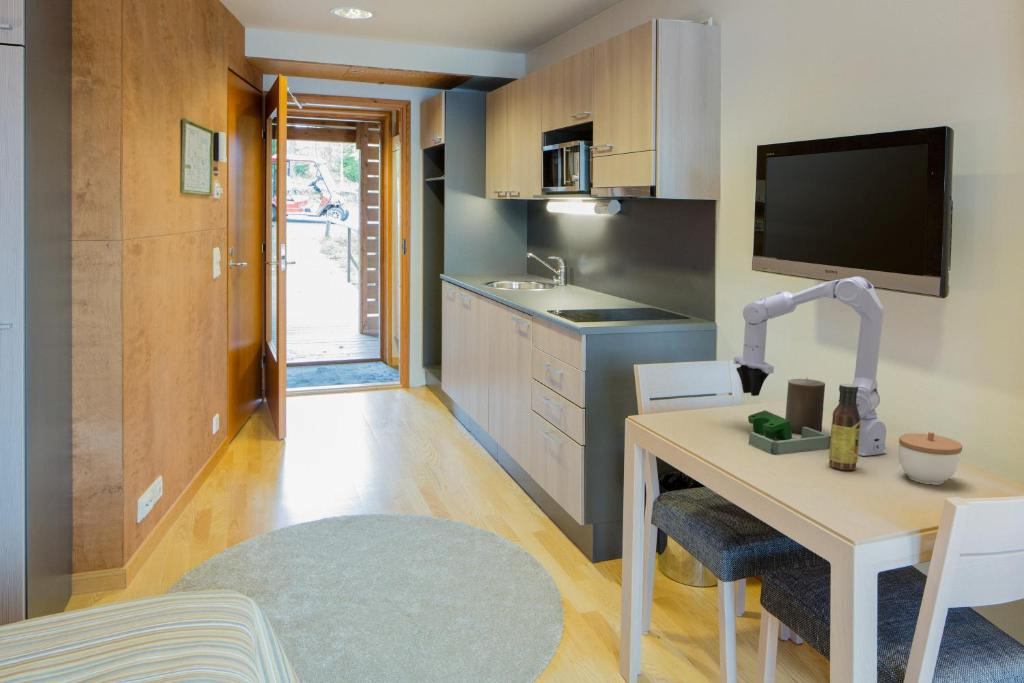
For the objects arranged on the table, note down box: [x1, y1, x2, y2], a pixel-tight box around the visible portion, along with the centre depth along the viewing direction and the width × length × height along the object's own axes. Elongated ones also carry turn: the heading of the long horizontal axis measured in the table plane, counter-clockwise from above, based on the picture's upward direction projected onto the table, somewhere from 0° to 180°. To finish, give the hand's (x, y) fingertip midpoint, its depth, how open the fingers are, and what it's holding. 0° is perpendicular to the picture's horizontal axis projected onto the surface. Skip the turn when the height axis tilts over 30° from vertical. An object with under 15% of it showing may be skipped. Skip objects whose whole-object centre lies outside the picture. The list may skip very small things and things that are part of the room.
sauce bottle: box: [828, 383, 861, 471], centre depth 184 cm, size 7×6×20 cm
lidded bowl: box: [898, 431, 963, 486], centre depth 177 cm, size 13×13×11 cm
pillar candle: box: [784, 377, 826, 435], centre depth 216 cm, size 10×10×15 cm
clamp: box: [747, 409, 793, 441], centre depth 209 cm, size 12×6×9 cm, turn 10°
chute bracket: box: [748, 427, 831, 456], centre depth 201 cm, size 10×18×3 cm, turn 112°
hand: (751, 394), depth 215 cm, fingers open, 3 cm apart
